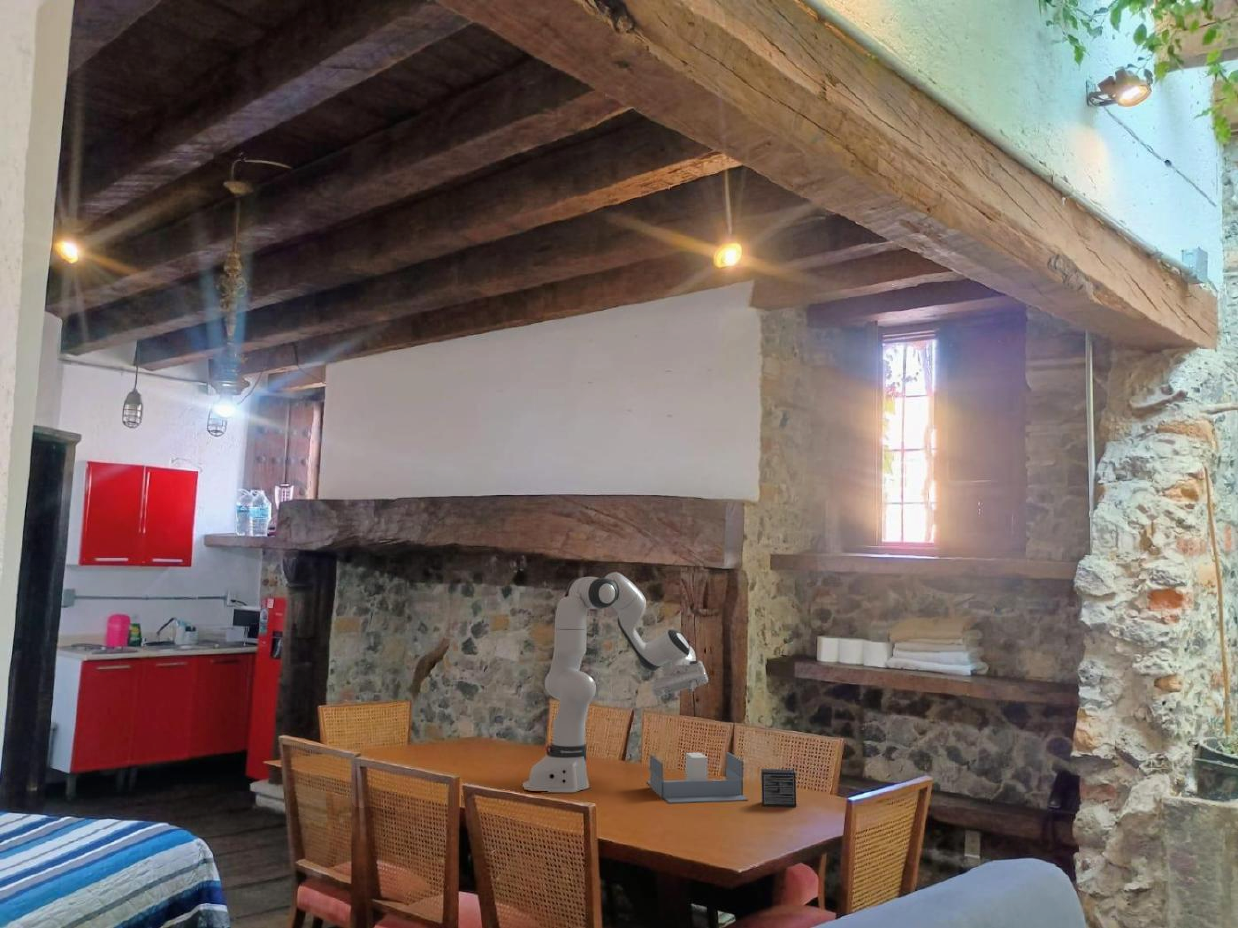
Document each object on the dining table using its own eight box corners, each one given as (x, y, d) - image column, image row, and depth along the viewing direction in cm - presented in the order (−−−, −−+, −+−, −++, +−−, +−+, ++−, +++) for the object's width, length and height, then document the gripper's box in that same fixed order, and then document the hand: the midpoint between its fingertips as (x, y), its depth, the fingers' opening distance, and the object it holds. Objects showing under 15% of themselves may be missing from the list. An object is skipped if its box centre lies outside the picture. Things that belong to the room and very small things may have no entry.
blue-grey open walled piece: (666, 803, 303) (666, 767, 304) (644, 782, 334) (644, 749, 335) (750, 800, 308) (750, 764, 309) (721, 779, 339) (721, 747, 340)
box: (692, 795, 315) (692, 757, 316) (685, 789, 323) (685, 752, 325) (707, 794, 315) (707, 757, 317) (700, 789, 324) (700, 752, 326)
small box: (795, 802, 306) (794, 768, 307) (796, 807, 299) (796, 772, 300) (761, 801, 307) (761, 767, 308) (762, 806, 300) (762, 771, 301)
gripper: (651, 673, 350) (646, 692, 337) (704, 659, 345) (702, 678, 332) (657, 688, 351) (653, 707, 338) (710, 674, 346) (708, 693, 333)
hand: (677, 693), depth 335 cm, fingers open, 8 cm apart
